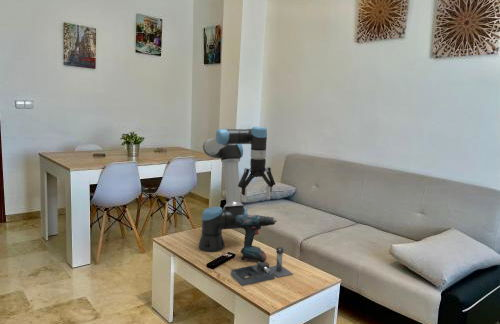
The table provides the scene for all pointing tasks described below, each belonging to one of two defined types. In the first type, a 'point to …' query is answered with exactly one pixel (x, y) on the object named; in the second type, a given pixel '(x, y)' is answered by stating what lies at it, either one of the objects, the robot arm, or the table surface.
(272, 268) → the rubber mat
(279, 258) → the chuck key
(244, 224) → the power drill
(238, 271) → the plate
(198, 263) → the table surface
